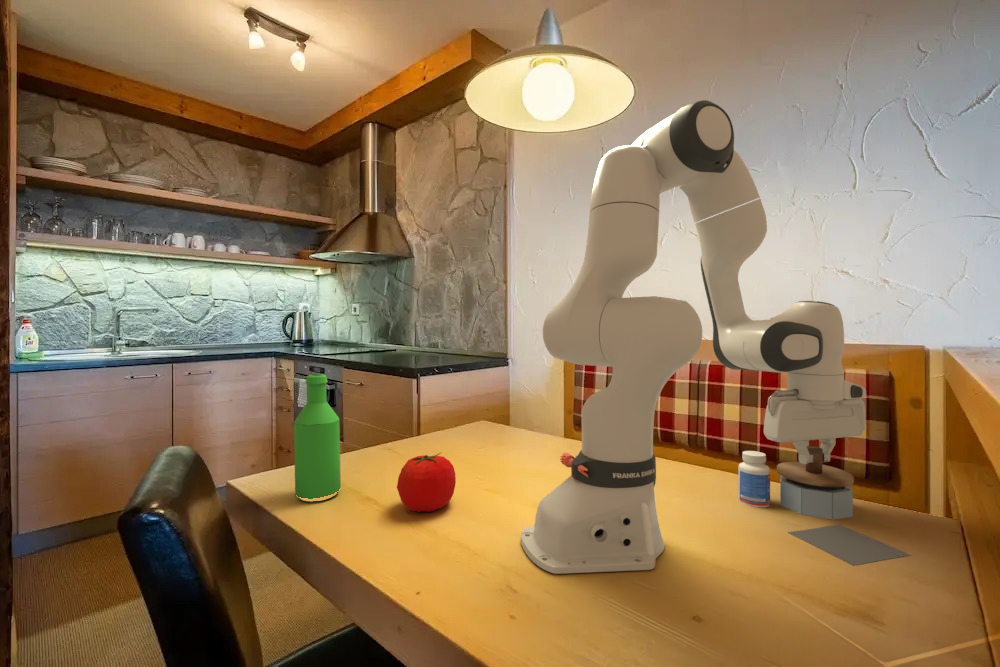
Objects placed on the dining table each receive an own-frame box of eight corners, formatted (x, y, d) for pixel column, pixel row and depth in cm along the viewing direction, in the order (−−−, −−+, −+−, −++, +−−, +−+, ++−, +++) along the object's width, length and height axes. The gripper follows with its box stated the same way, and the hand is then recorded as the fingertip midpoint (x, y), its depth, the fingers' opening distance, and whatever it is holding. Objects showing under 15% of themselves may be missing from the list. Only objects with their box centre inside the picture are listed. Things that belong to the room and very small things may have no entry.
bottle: (341, 500, 94) (339, 376, 94) (294, 506, 91) (292, 378, 91) (339, 486, 103) (337, 372, 102) (296, 492, 99) (294, 374, 99)
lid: (817, 490, 81) (817, 460, 81) (761, 468, 92) (762, 442, 92) (871, 483, 84) (871, 454, 84) (811, 463, 95) (811, 438, 95)
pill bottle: (774, 510, 87) (774, 458, 87) (743, 508, 88) (743, 456, 88) (764, 499, 93) (764, 450, 93) (734, 497, 94) (734, 449, 94)
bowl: (817, 523, 81) (817, 495, 81) (766, 500, 92) (766, 475, 92) (866, 516, 84) (866, 488, 84) (811, 495, 95) (811, 470, 95)
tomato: (470, 502, 93) (469, 450, 93) (426, 525, 82) (425, 467, 82) (427, 491, 99) (426, 442, 99) (381, 511, 88) (380, 457, 88)
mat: (853, 568, 67) (853, 565, 67) (787, 534, 77) (787, 532, 77) (911, 557, 69) (911, 554, 69) (840, 526, 80) (840, 524, 80)
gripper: (783, 393, 82) (783, 472, 82) (873, 388, 87) (872, 462, 87) (755, 388, 88) (755, 462, 88) (840, 384, 93) (840, 453, 93)
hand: (814, 462), depth 88 cm, fingers closed on lid, 3 cm apart
